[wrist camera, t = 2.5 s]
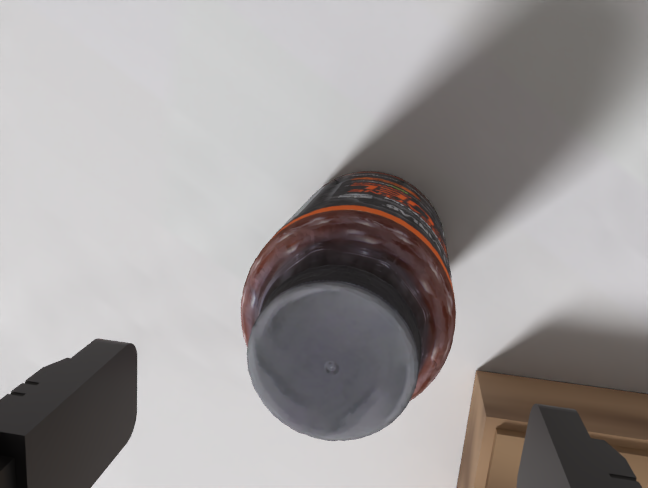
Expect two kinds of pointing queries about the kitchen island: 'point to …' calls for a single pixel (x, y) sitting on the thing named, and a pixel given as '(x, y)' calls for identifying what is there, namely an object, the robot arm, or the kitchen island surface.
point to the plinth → (513, 414)
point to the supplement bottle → (349, 308)
